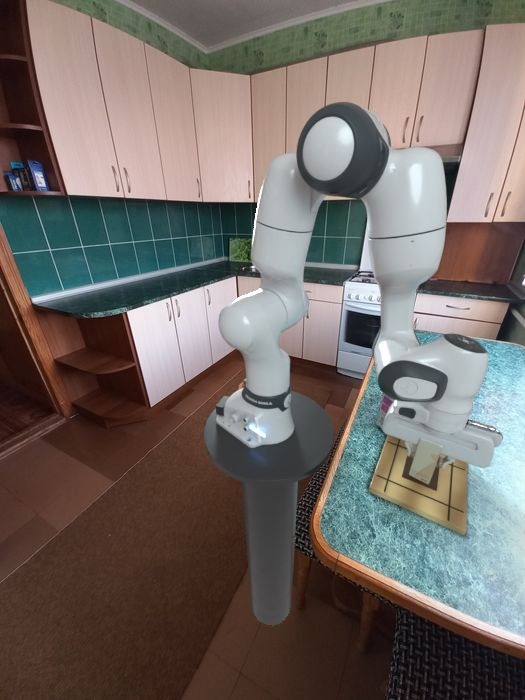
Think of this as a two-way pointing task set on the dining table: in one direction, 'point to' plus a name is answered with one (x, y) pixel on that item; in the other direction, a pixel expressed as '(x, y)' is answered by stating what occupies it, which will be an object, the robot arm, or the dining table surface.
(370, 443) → the dining table surface
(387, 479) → the board
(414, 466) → the box
